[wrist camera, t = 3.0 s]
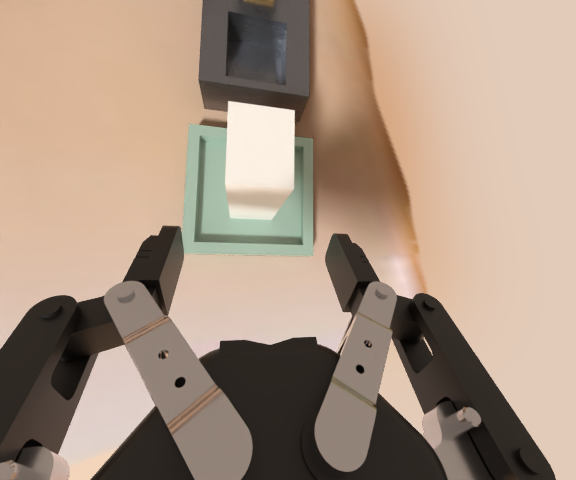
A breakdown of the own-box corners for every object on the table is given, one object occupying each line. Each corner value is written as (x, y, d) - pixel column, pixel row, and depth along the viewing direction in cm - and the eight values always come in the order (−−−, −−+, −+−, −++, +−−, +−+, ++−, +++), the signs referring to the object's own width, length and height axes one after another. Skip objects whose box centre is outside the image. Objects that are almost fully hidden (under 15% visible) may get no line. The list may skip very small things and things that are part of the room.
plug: (230, 218, 24) (225, 183, 14) (231, 168, 24) (228, 100, 14) (271, 220, 24) (294, 188, 15) (272, 171, 25) (294, 110, 15)
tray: (186, 254, 23) (181, 253, 21) (192, 135, 25) (188, 123, 23) (307, 256, 26) (313, 255, 24) (307, 147, 27) (312, 138, 25)
